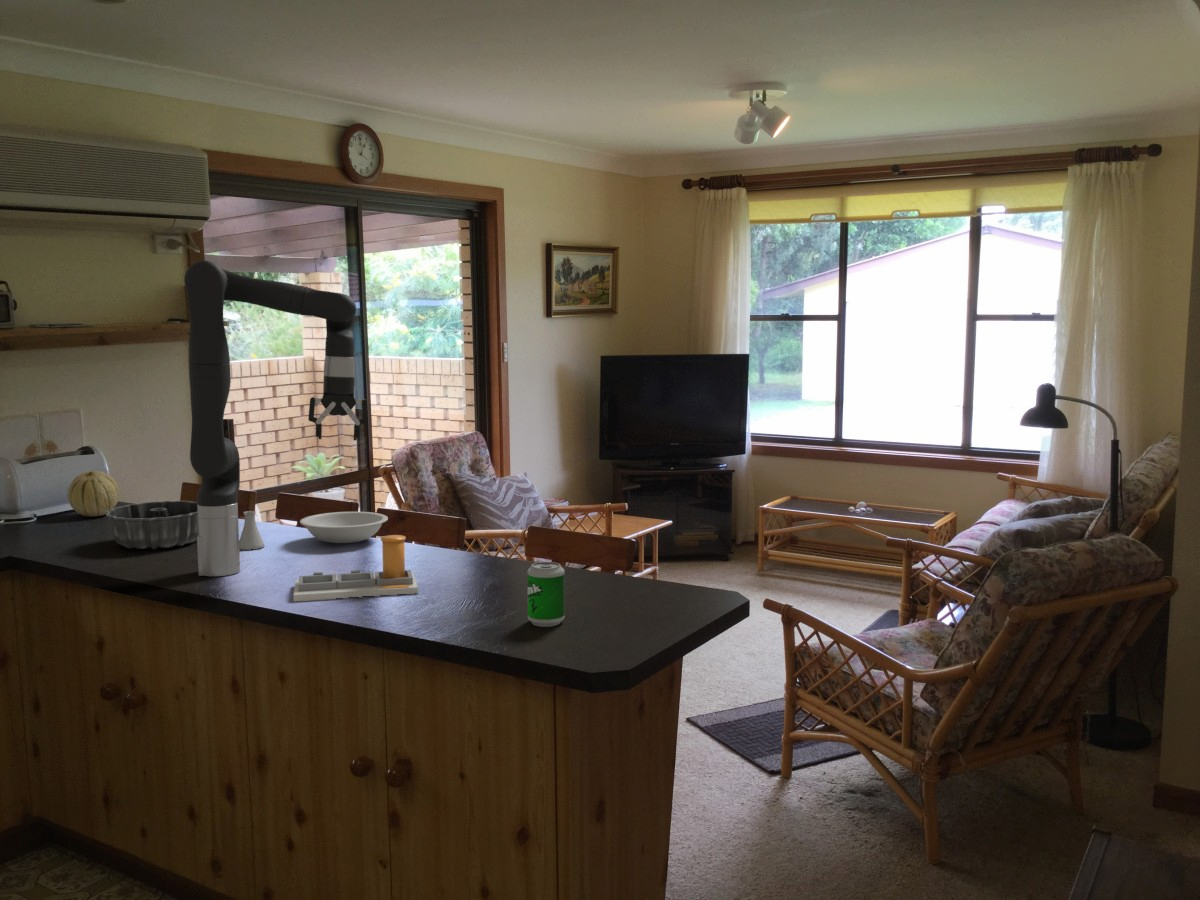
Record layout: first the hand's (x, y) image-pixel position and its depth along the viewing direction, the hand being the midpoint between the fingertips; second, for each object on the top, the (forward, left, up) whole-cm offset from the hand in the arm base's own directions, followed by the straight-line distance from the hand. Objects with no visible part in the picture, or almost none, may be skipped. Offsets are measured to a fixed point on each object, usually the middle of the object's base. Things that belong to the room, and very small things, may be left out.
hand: (337, 439), depth 248 cm
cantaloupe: (-76, +88, -32) cm, 120 cm away
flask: (-24, +27, -32) cm, 48 cm away
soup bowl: (+1, +29, -32) cm, 43 cm away
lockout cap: (+12, -26, -30) cm, 42 cm away
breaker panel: (+3, -26, -32) cm, 42 cm away
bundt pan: (-49, +39, -32) cm, 70 cm away
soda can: (+40, -62, -32) cm, 81 cm away
